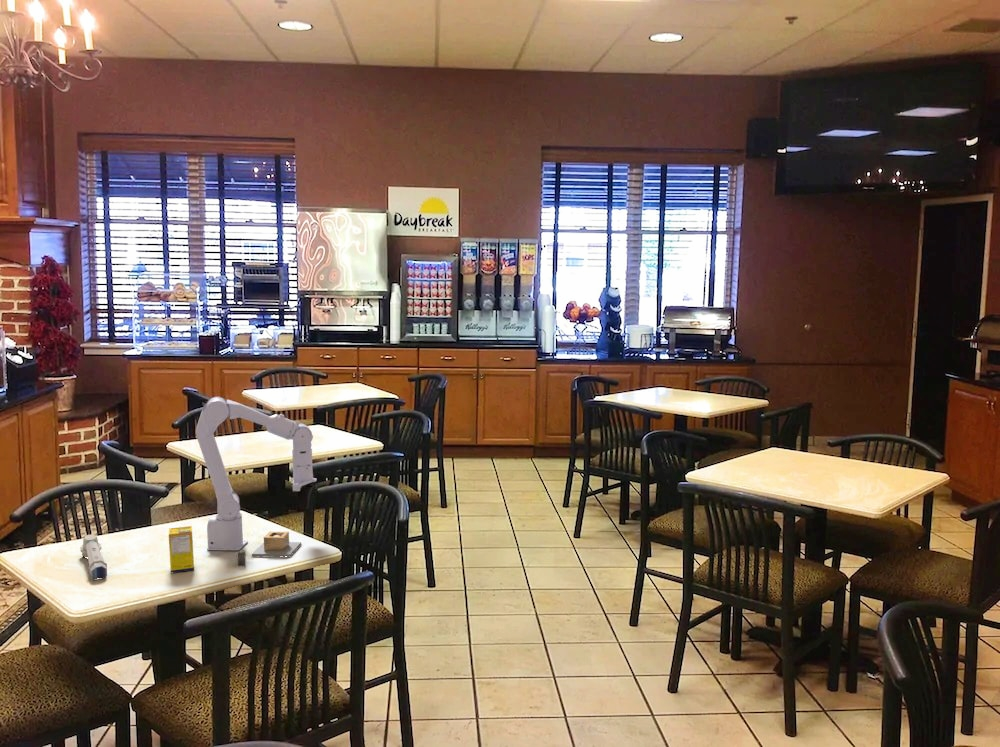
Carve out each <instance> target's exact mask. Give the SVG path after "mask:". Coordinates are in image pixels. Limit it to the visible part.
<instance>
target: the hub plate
mask: <svg viewBox="0 0 1000 747" xmlns="http://www.w3.org/2000/svg"><path fill="white" fill-rule="evenodd" d="M275 536H280V535H275ZM300 545H301V546H302V541H300V542H299V541H296V542H295V541H289V546H288V547H287V548H286V549H285V550H284V551H264V542H263V543H262V544H260V545H259V547H257V548H256V549H255V550H254V551H253V552H251V557H252V556H261V557H260V558H263V557H262V556H273V557H272V558H281V557H280V556H283V557H282V558H291V557H292V556H293V554H294V553H295V552H296V551H297V550H298V549H299V548H300V547H301V546H300ZM299 546H300V547H299ZM298 547H299V548H298ZM297 548H298V549H297ZM296 549H297V550H296ZM295 550H296V551H295ZM294 551H295V552H294ZM292 553H293V554H292ZM285 556H287V557H285ZM290 556H291V557H290Z"/></svg>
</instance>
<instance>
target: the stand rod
mask: <svg viewBox="0 0 1000 747" xmlns="http://www.w3.org/2000/svg"><path fill="white" fill-rule="evenodd" d="M236 555H237V566H238V567H240V566H241V565H242V566H245V565H246V551H245V550H238V552H237V554H236Z"/></svg>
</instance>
